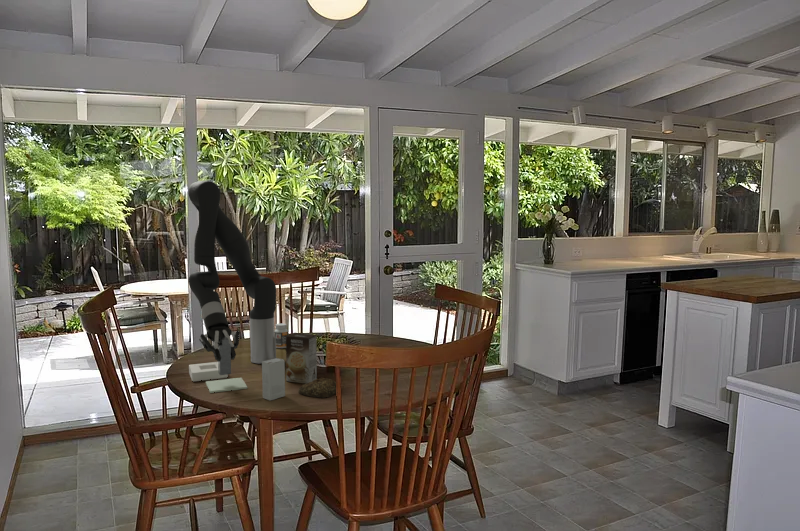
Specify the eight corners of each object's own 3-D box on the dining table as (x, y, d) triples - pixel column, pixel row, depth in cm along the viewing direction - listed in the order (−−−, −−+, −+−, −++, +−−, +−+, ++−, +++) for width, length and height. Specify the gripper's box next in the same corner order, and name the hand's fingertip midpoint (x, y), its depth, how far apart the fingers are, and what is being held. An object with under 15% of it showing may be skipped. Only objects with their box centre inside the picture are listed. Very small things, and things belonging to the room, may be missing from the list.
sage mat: (241, 379, 214) (241, 377, 214) (247, 388, 203) (247, 386, 203) (205, 383, 209) (205, 381, 209) (210, 393, 198) (209, 391, 198)
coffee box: (285, 381, 211) (284, 336, 209) (294, 376, 217) (293, 332, 215) (309, 384, 208) (308, 337, 206) (317, 379, 214) (317, 334, 212)
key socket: (223, 369, 227) (222, 361, 226) (227, 377, 216) (227, 369, 216) (189, 372, 222) (188, 364, 222) (192, 381, 211) (192, 373, 211)
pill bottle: (285, 349, 258) (284, 325, 257) (272, 348, 260) (272, 325, 259) (290, 345, 264) (289, 323, 263) (277, 345, 265) (277, 322, 264)
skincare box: (277, 393, 197) (276, 357, 196) (286, 396, 194) (285, 359, 193) (261, 398, 193) (260, 360, 191) (270, 401, 190) (269, 363, 189)
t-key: (228, 370, 208) (228, 336, 207) (231, 374, 204) (231, 339, 203) (217, 372, 207) (217, 337, 206) (220, 375, 202) (219, 340, 201)
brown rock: (323, 401, 191) (323, 385, 191) (293, 394, 198) (293, 379, 197) (347, 390, 202) (347, 375, 201) (318, 384, 208) (318, 370, 208)
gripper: (195, 313, 206) (207, 355, 197) (237, 309, 214) (249, 350, 205) (191, 326, 210) (202, 368, 202) (232, 322, 218) (244, 362, 210)
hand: (226, 359), depth 203 cm, fingers closed on t-key, 4 cm apart
